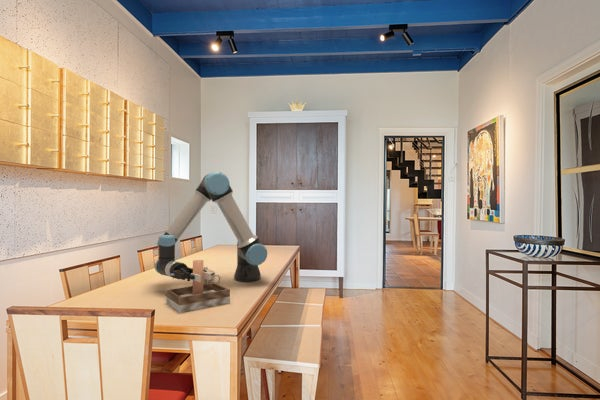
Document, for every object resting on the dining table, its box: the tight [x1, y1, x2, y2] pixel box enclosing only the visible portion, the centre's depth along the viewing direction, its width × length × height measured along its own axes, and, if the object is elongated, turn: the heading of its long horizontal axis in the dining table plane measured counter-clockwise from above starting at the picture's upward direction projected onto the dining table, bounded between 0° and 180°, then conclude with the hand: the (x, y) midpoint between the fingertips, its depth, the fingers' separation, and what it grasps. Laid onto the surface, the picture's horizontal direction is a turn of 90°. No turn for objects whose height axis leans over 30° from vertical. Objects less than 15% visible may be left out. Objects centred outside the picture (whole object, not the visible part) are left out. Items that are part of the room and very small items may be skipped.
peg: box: [192, 259, 204, 295], centre depth 152 cm, size 4×4×16 cm
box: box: [166, 282, 231, 314], centre depth 152 cm, size 22×16×6 cm
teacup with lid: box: [203, 266, 222, 285], centre depth 175 cm, size 12×9×12 cm
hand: (205, 277), depth 148 cm, fingers closed on peg, 4 cm apart
